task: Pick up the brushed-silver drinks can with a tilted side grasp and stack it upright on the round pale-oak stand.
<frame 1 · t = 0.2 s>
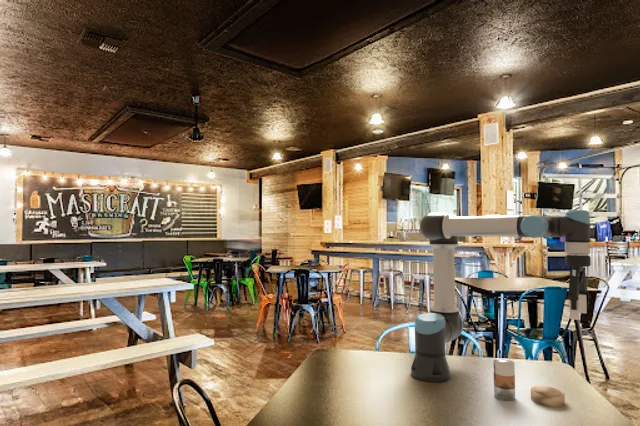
hand: (578, 316, 143), 27 cm above the table, tool pointing down, fingers open, 13 cm apart
can: (504, 397, 142), on the table
stand: (547, 400, 139), on the table
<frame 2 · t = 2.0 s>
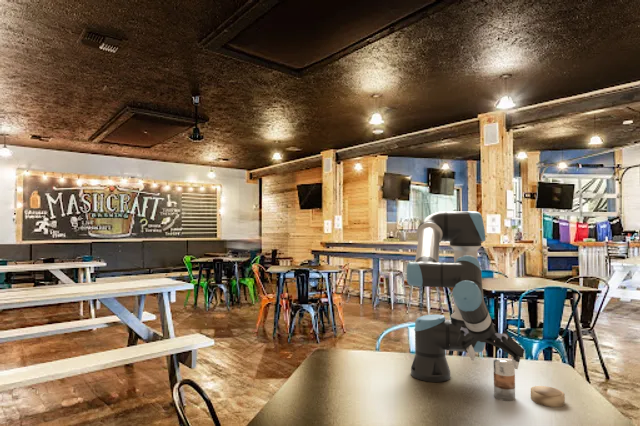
hand: (494, 361, 135), 15 cm above the table, tool tilted 45°, fingers open, 13 cm apart
nothing on the table moved.
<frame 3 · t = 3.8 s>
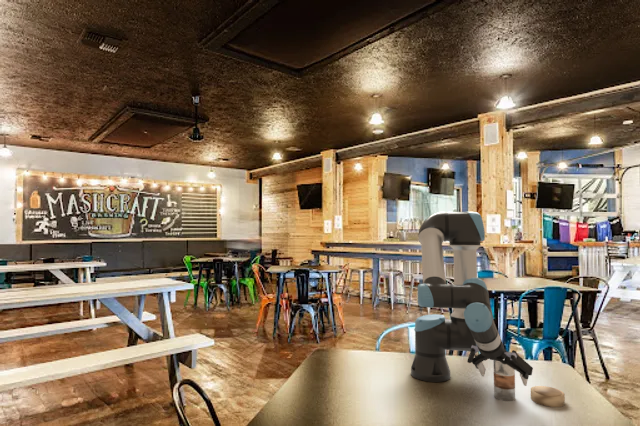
hand: (504, 377, 141), 7 cm above the table, tool tilted 45°, fingers open, 13 cm apart
nothing on the table moved.
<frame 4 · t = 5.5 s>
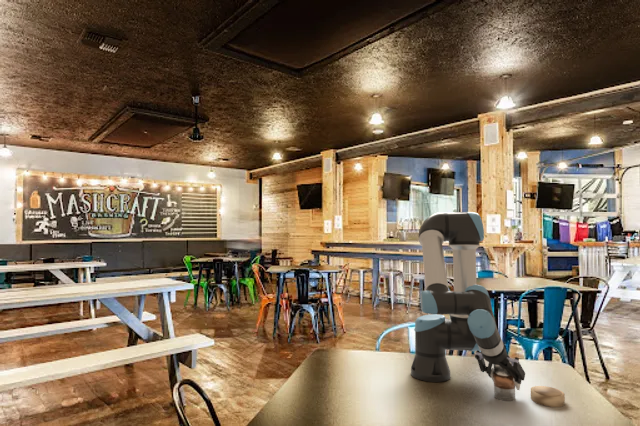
hand: (507, 383, 145), 3 cm above the table, tool tilted 45°, fingers closed on can, 7 cm apart
can: (504, 397, 142), on the table, touching gripper
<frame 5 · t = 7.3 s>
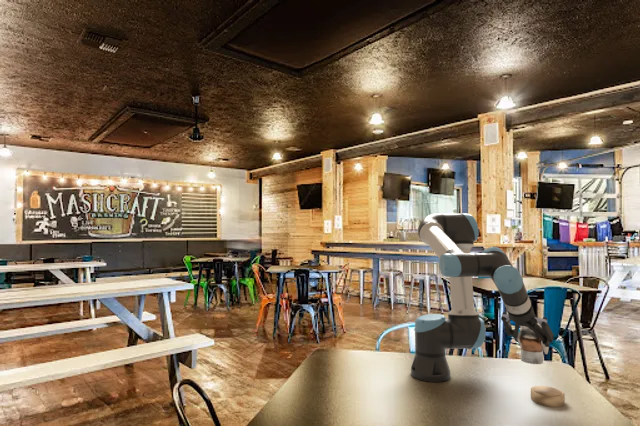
hand: (534, 348, 142), 17 cm above the table, tool tilted 45°, fingers closed on can, 7 cm apart
can: (531, 361, 139), point 13 cm above the table, touching gripper
when the fingers open (8 cm above the table, at t = 9.5 s): can drops 1 cm, resting on stand.
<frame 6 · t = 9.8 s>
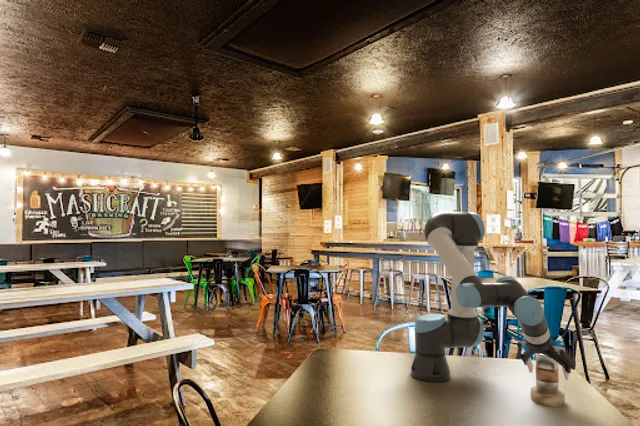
hand: (548, 372, 142), 9 cm above the table, tool tilted 45°, fingers open, 10 cm apart
can: (547, 390, 139), point 3 cm above the table, touching stand
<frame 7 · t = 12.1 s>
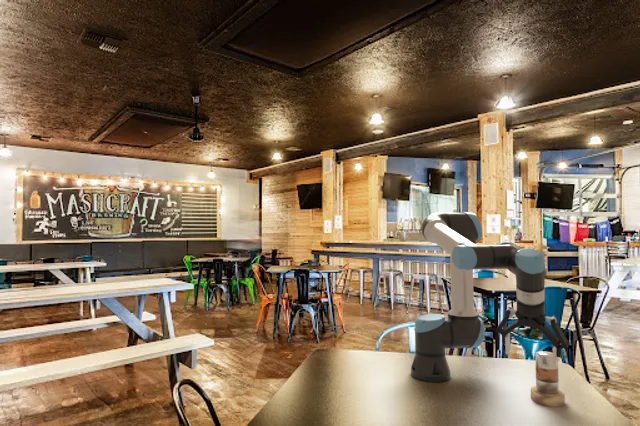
hand: (530, 358, 131), 17 cm above the table, tool tilted 25°, fingers open, 13 cm apart
nothing on the table moved.
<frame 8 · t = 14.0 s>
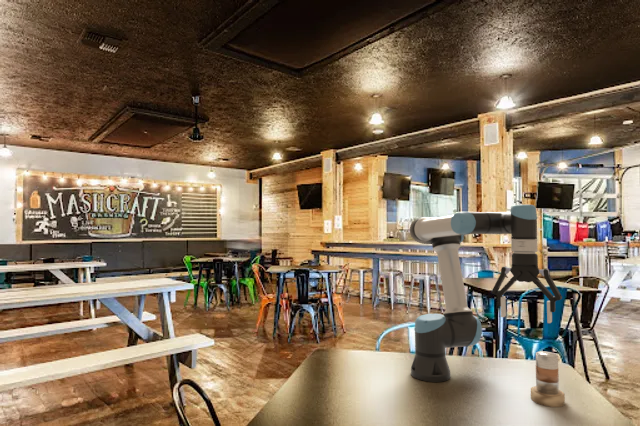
hand: (525, 319, 132), 29 cm above the table, tool pointing down, fingers open, 13 cm apart
nothing on the table moved.
at the end: can 0.1 cm off-centre on the stand, point 3.3 cm above the stand's base; can tilted 0°; the gripper is holding nothing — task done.
